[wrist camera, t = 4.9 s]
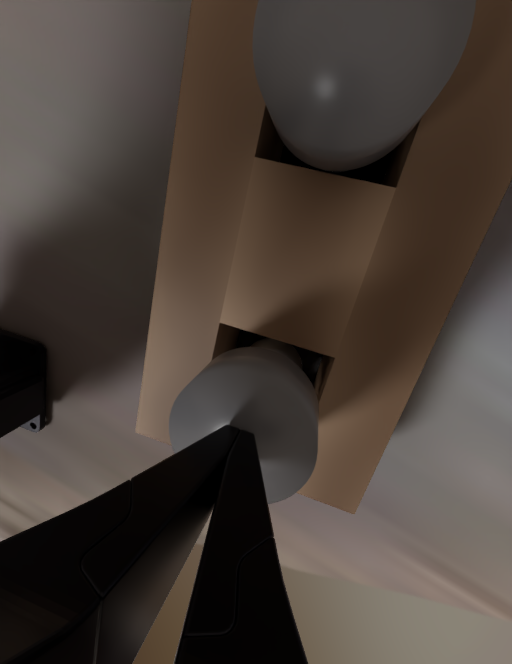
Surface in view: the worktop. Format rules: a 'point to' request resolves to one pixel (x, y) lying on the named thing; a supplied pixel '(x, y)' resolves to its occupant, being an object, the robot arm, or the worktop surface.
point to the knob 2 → (354, 72)
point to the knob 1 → (256, 411)
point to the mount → (321, 240)
